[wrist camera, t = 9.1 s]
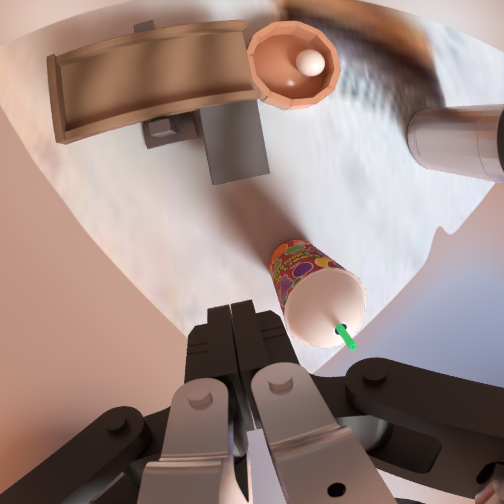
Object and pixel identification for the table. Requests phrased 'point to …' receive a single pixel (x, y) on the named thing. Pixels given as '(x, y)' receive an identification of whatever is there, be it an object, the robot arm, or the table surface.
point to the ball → (310, 62)
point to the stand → (166, 117)
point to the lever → (165, 90)
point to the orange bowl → (291, 65)
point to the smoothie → (317, 296)
